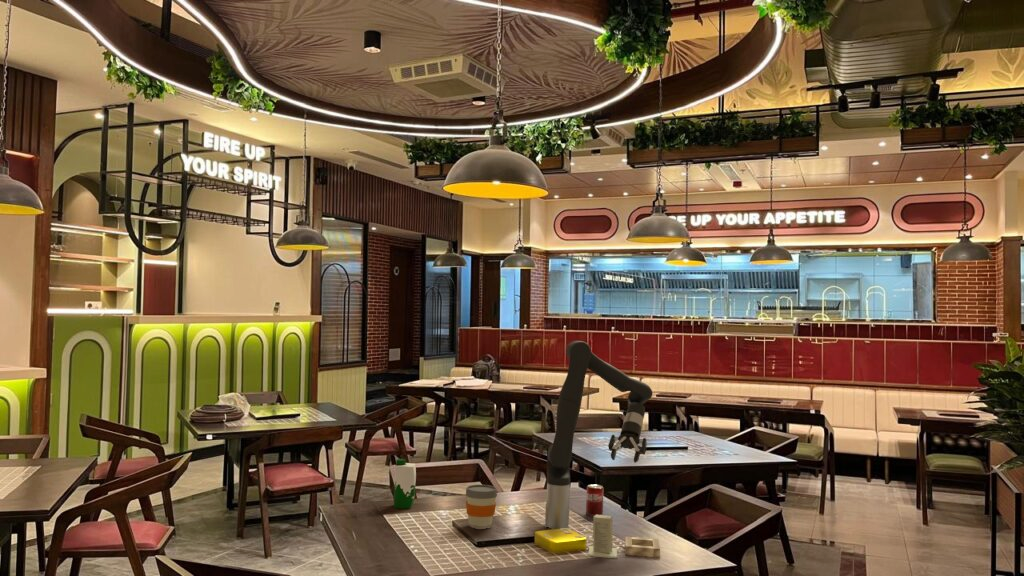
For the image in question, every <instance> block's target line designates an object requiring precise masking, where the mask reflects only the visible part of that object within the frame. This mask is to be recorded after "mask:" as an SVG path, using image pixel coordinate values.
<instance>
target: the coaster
mask: <svg viewBox="0 0 1024 576" xmlns="http://www.w3.org/2000/svg"><path fill="white" fill-rule="evenodd" d="M588 548H589V549H588V555H587V556H588V557H596V558H606V559H607V558H608V559H618V547H612V551H611V552H610V553H603V552H595V551H593V545H589V547H588Z"/></svg>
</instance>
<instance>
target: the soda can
mask: <svg viewBox="0 0 1024 576" xmlns="http://www.w3.org/2000/svg"><path fill="white" fill-rule="evenodd" d="M604 489H605V488H604V487H603V485H601V484H588V485H587V486H586V498H585V499H586V503H585V506H586V508H585V513H586V514H588V515H587V516H590V515H591V517H594V516H595V515H604Z"/></svg>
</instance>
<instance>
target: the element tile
mask: <svg viewBox="0 0 1024 576" xmlns="http://www.w3.org/2000/svg"><path fill="white" fill-rule="evenodd" d="M534 544H535V545H536V546H538V547H541V548H542V549H544V550H545V551H547V552H548V553H551V554H562V553H563V554H564V553H570V552H580V551H585V549H586V550H587V537H586V536H584V535H582V534H580V533H578V532H576V531H574V530H572V529H571V528H569V527H568V528H561V529H543V530H537V531H535V532H534Z"/></svg>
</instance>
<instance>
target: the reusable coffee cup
mask: <svg viewBox="0 0 1024 576" xmlns="http://www.w3.org/2000/svg"><path fill="white" fill-rule="evenodd" d="M465 488H466V489H465V496H466V501H465V509H466V514H467V519H468V520H467V521H468V525H469V524H471V525H477V526H487V525H491V524H493V519H494V518H493V517H494V516H495V512H496V505H497V501H496V500H497V497H498V490H497V487H496V486H493V485H489V484H471V485H468V486H466V487H465Z"/></svg>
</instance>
